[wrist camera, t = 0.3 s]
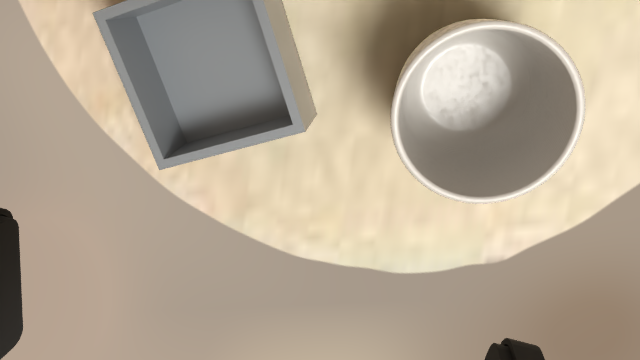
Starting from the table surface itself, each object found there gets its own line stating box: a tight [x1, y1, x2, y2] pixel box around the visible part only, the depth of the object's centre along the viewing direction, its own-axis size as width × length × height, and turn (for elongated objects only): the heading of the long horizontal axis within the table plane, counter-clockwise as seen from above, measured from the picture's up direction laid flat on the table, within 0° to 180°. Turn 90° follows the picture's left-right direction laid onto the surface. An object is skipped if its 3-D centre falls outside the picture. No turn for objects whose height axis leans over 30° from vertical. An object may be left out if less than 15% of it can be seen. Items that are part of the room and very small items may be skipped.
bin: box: [93, 0, 317, 170], centre depth 42 cm, size 14×14×6 cm
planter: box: [391, 19, 585, 204], centre depth 38 cm, size 12×12×11 cm
